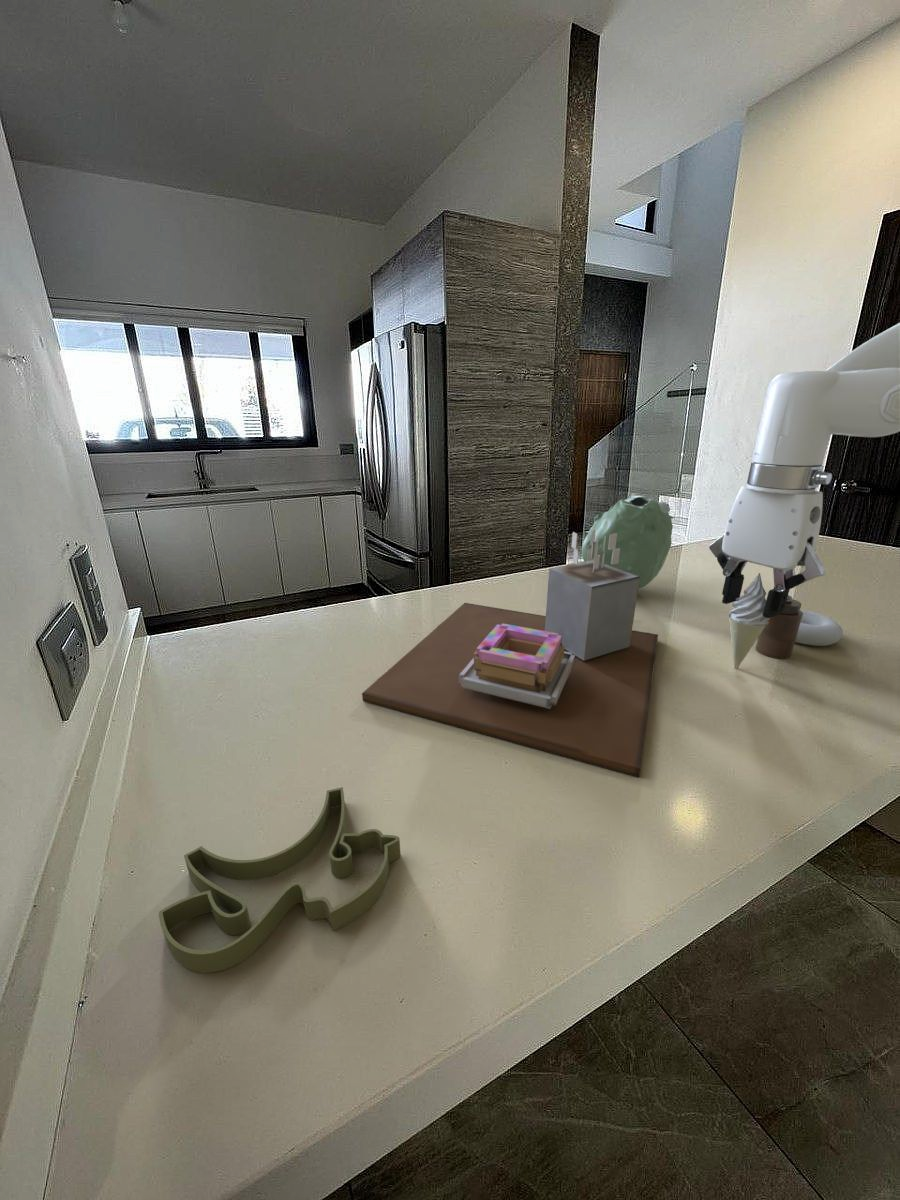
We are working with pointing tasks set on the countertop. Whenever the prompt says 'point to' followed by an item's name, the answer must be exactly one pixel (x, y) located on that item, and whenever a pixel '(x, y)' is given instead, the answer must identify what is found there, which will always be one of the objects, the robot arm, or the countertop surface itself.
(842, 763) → the countertop surface
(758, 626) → the ice cream cone
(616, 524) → the green ceramic vase
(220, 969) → the cookie cutter
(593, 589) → the brown serving board set
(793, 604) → the pepper mill
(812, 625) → the donut
